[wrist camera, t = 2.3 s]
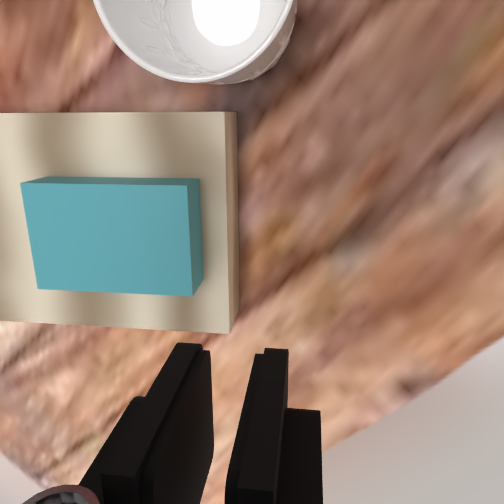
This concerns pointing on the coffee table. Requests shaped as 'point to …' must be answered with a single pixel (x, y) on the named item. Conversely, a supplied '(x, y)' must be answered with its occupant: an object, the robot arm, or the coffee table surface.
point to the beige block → (134, 166)
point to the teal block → (115, 234)
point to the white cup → (201, 36)
